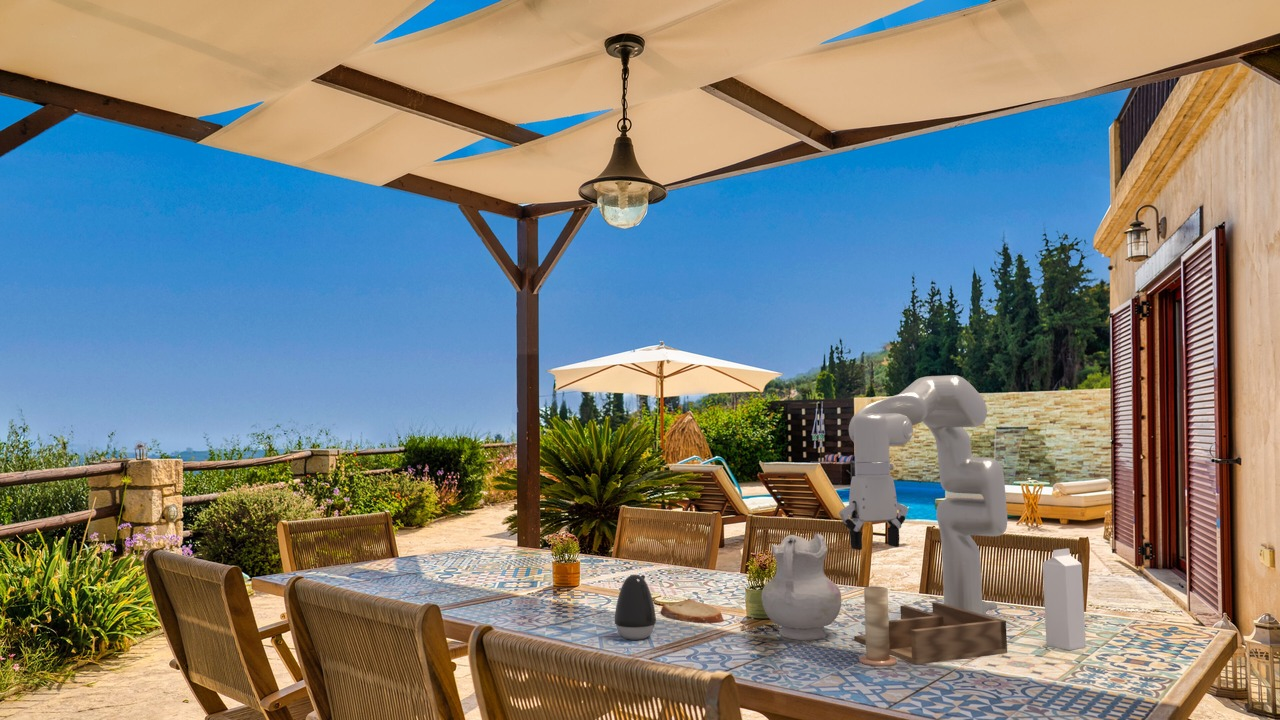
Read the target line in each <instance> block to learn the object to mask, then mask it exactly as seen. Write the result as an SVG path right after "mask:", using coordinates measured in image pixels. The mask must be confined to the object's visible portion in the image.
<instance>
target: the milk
mask: <svg viewBox="0 0 1280 720" xmlns="http://www.w3.org/2000/svg"><path fill="white" fill-rule="evenodd" d="M1070 550H1071V549H1070V548H1068V547H1067V548H1062V549H1061V548H1060V549H1053V551H1052V557H1051V558H1049V559H1047V560H1045V561H1043V562H1042V577H1043V578H1042V580H1043V582H1042V583H1043V600H1044V622H1045V638H1046V639H1045V640H1046V641H1045V642H1046V643H1045V645H1046V646H1049V647H1052V648H1057V649H1061V650H1065V651H1074V650H1079V649H1084V648H1086V647H1087V645H1086V644H1087V643H1086V640H1087V639H1086V625H1085V621H1086V620H1085V606H1084V605H1085V604H1084V586H1083V585H1084V583H1083V567H1082V566H1083V565H1082V563H1081V562H1080V561H1078V560H1077V559H1076V558H1074V557H1073V556H1072V555H1071V553H1070Z"/></svg>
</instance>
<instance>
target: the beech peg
mask: <svg viewBox="0 0 1280 720" xmlns="http://www.w3.org/2000/svg"><path fill="white" fill-rule="evenodd" d="M863 588H864V589H863V590H864V591H863V592H864V624H865V625H864V627H865V630H864V632H865V634H864V635H866V645H865V654H866V658H867V659H869V660H872V661H888V660H890V656H891V654H890V649H889V621H890V620H889V616H890V615H889V594H888V593H889V590H888V587H884V586H876V585H875V586H874V585H873V586H871V585H870V586H865V587H863Z"/></svg>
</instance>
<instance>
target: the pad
mask: <svg viewBox="0 0 1280 720" xmlns="http://www.w3.org/2000/svg"><path fill="white" fill-rule="evenodd" d="M858 661H859V663H861V664H864V665H867V666H873V667H890V666H894V665H896V664H897V662H898V659H897V657H896V656H893V655H890V660H888V661H872V660H869V659H867V658H866V653H865V654H862V655H859V656H858Z"/></svg>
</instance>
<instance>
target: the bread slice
mask: <svg viewBox="0 0 1280 720" xmlns="http://www.w3.org/2000/svg"><path fill="white" fill-rule="evenodd" d="M660 613H661V615H662V616H663V617H664V618H665V617H666V618H668V619H672V620H675V621H680V622H685V623H686V622H687V623H695V624H717V623H718V624H719V623H723V622H724V621H725V620H724V617H723V615H722V612H721V611H720V610H719V609H717V607H714V606H711V605H708V604H706V603H703V602H700V601H696V600H694V599H691V598H687V599H683V600H680V601H678V602H675V603H672V604H671V605H669V604H667V603H664V604H663V605H662V607H661V610H660Z"/></svg>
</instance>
